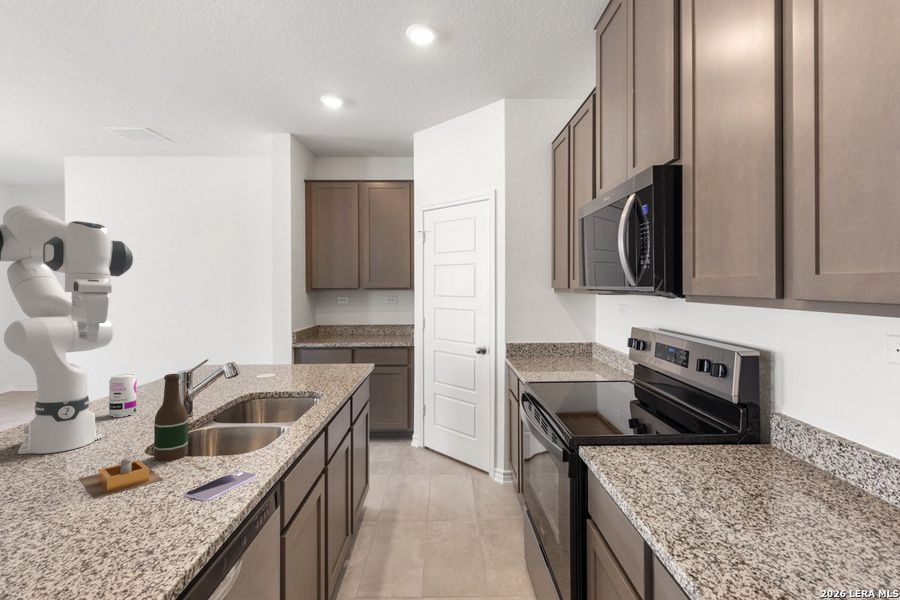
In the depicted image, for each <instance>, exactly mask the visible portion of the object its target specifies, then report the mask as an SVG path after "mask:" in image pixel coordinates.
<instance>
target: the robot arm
mask: <svg viewBox="0 0 900 600" xmlns="http://www.w3.org/2000/svg"><path fill="white" fill-rule="evenodd" d="M109 233H110V232H109V230H108V228H107V227H106V226H104V225H103V224H99V223H93V222H87V221H81V220H80V221H78V220H75V221H71V222H70V221H69V222H66V221H64V220H62V219H60V218H58V217H56V216H55V215H52V214H51V213H50V212H47V211H45V210H44V209H42V208H39V207H35V206H32V205H26V204H20V205H15V206H12V207H9V208H8V209H7V210H6V211H5V212H4V213H3V217H2V224H0V262H12V263H10V264H9V266H8V268H7V270H6V275H7V281H8V284H9V287H10V289H11V292H12V294H13V296H14V298H15V299H16V302H17V303H18V305H19V308H20V309H21V311H22V312H23V313H24V315H26V316H27V317H29V318H24V319H19V320H14V321H13V322H11V323H10V324H9V325H8V326H7V328H6V329H5V331H4V334H3V342H4V344H5V346H6V349H8V351H9V352H11V353H13V354H14V355H16V356H18V357H21V358H22V359H23V360H25V361H26V362H27V363H28V364H29V365H30V366H31V368H32V370H33V371H34V374H35V378H36V390H37V393H36V395H37V401H35V404H34V414H35V416H34V418H33V419H31V421H30V422H28V425H26V426H24V427H23V434H24V435H26V436H25V438H24V440H23V441H22V443H21V445H20V447H19V448H18V451H17V454H18V455H26V454H54V453H59V452H60V453H61V452H65V451H70V450H75V449H78V448H82V447H85V446H88V445H90V444H91V443H93V442H96V441H98V440H101V439H103V434H101V433H98V432H96V415H95V413H94V412H93V411H90V409H89V408H90V407H89V405H90V404H89V403H90V399H89V395H88V389H87V388H88V374H87V372H86V370H85V369H84V368H83V367H81V366H79V365H76V364H73V363H70V362H69V361H68V359H67V355H66V353H74V352H75V353H76V352H86V351H93V350H97V349H101V348H104V347H106V346H108V345H109V344H110V343H111V342H112V340H113V338H114V335H115V330H114V326H113V324H112V322H111V321H110V320H109V319H108V315H109V304H110V294H112V292H113V285H112V283H111V277H120V276H122V275H124V274H125V273H126V272H128V271H129V270H130V269H131V268H132V266H133V262H134V257H133V253H132V251H131V249H130V248H129V247H128V246H127V245H126V244H125V243H124V242H123V241H121V240H110V234H109ZM53 272H57V273H63V274H64V287H62V284H61V283H60V281H59V279H58V278H57V276H56V275H55V273H53ZM67 293H71V297H69V295H68V294H67ZM100 438H101V439H100ZM97 439H98V440H97ZM95 440H96V441H95Z"/></svg>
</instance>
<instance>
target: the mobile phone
mask: <svg viewBox="0 0 900 600" xmlns="http://www.w3.org/2000/svg"><path fill="white" fill-rule="evenodd" d="M256 478H258V475H257V474H256V473H252V472H248V471H242V470H235V473H230V474H227V475H224V476H221V477H219V478H216V479H215V480H211V481H210V482H207V483H205V484H202V485H201V486H199V487H196V488H194V489H191V490H189V491H187V492H185V493H184V497H186V498H189V499H193V500H196V501H201V502H208V501H212V500H213V499H216V498H217V497H220V496H222V495H224V494H226V493H228V492H229V491H232V490H234V489H236V488H238V487H240V486H242V485H244V484H246V483H248V482H251V481H252V480H255V479H256Z"/></svg>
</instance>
